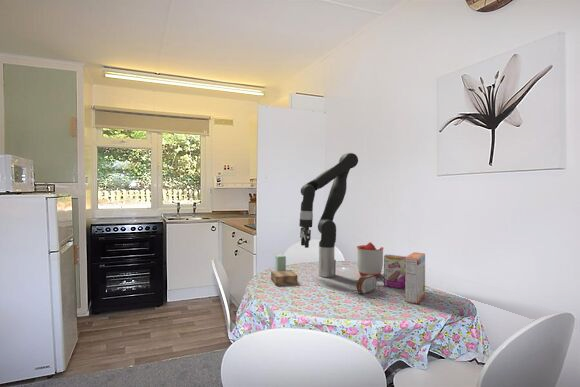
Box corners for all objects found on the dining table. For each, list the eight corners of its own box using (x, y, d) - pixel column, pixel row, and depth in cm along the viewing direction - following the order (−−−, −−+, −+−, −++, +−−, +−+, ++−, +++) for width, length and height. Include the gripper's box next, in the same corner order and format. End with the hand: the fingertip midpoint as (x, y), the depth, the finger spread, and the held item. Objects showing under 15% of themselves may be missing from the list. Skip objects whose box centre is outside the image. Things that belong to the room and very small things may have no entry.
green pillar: (283, 274, 200) (283, 254, 200) (285, 276, 196) (285, 256, 195) (275, 275, 199) (275, 255, 199) (277, 277, 194) (277, 256, 194)
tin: (372, 288, 174) (372, 272, 174) (377, 289, 172) (378, 273, 172) (355, 294, 164) (356, 277, 164) (361, 296, 161) (361, 278, 161)
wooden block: (291, 278, 193) (291, 270, 193) (297, 284, 181) (297, 275, 181) (271, 280, 190) (271, 271, 190) (275, 286, 178) (275, 276, 178)
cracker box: (412, 294, 165) (413, 251, 165) (425, 296, 162) (426, 253, 162) (404, 301, 154) (404, 256, 154) (417, 304, 150) (418, 258, 150)
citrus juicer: (390, 276, 199) (391, 242, 199) (370, 280, 189) (371, 245, 189) (370, 270, 212) (371, 239, 212) (350, 274, 202) (351, 241, 202)
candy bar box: (383, 286, 178) (383, 255, 178) (384, 284, 182) (385, 254, 182) (405, 289, 173) (405, 257, 173) (406, 286, 178) (406, 255, 177)
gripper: (315, 219, 190) (314, 248, 189) (309, 218, 203) (307, 244, 203) (303, 219, 188) (301, 248, 188) (297, 217, 202) (295, 244, 202)
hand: (304, 246), depth 195 cm, fingers open, 8 cm apart
